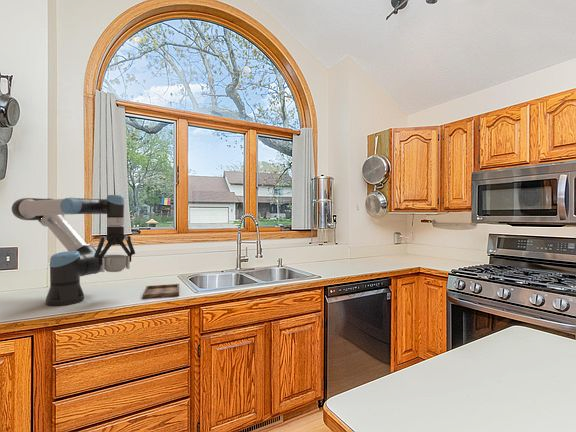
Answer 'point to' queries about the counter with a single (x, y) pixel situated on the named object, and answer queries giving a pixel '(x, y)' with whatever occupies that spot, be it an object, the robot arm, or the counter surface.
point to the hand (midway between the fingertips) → (115, 270)
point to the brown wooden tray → (161, 291)
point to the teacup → (115, 262)
